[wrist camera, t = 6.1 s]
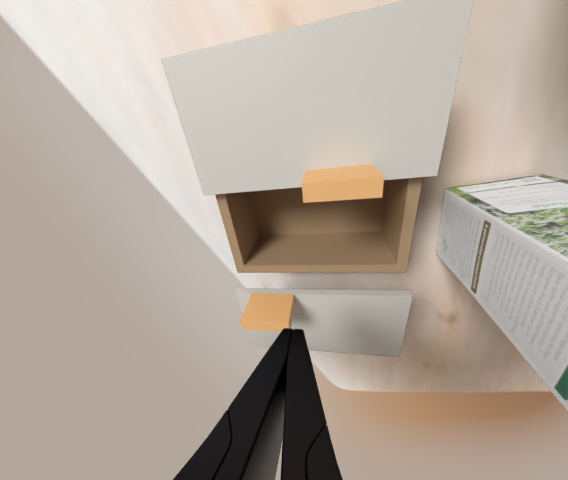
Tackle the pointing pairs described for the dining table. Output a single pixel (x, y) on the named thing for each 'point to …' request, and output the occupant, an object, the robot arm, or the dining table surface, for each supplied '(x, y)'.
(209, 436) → the robot arm
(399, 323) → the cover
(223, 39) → the dining table surface
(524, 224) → the syrup box
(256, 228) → the carton
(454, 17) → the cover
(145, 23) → the dining table surface
